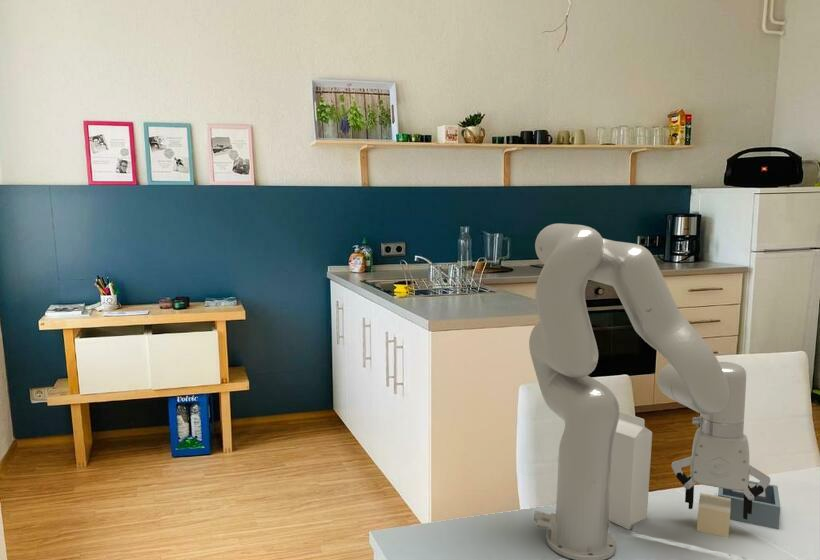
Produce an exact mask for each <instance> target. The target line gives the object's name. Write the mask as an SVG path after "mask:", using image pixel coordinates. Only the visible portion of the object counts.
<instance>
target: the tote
mask: <svg viewBox="0 0 820 560" xmlns="http://www.w3.org/2000/svg"><path fill="white" fill-rule="evenodd" d="M759 482H760V481H758V482H757V481H753V480H749V483H753V484H758V483H759ZM778 486H779V485H774V484H771V483H769V485H768V486H767V487H766V488H765V495H766V499H765V503H764V502H759V501H754V500H752V514H748V516H747V520H746V519H744V518H743V504H744V499H743V498H738V497H733V496H731V492H732V490H731V489H725V488H719V487H718V489H717V490H718V491H717V492H718V493H717V496H719V497H724V498H729V499H731V510H730V521H731V520H732V521H736V522H741V523H746V524H751V525H755V526H760V527H761V526H762V527H765V528H770V529H775V530H779V529H780V520H781V519H780V518H781V517H780V516H781V502H780V494H779V489H778V488H779V487H778Z"/></svg>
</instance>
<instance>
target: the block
mask: <svg viewBox="0 0 820 560" xmlns="http://www.w3.org/2000/svg"><path fill="white" fill-rule="evenodd" d="M749 485H750V486H751V488H752V487H754V486H755V485H757V484H753V483H749ZM731 496H733V497H738V498H743V499H744V493H743V492H742V491H738V490H732V492H731ZM765 499H766V495H765V490H764V492H763V493H761V494H760V495H758V496H757V497H755V498H754V501H759V502H764V503H765Z"/></svg>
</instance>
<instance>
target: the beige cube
mask: <svg viewBox="0 0 820 560" xmlns="http://www.w3.org/2000/svg"><path fill="white" fill-rule="evenodd" d="M698 501H699V502H698V510H697V511H698V512H697V525H696V531H698V532H702V533H706V534H710V535H715V536H720V537H725V538H729V534H730V521H731V519H730V510H731V499H729V498H724V497H719V496H718V495H712V494H708V493H705V492H704V493H702V492H700V493H699V500H698Z"/></svg>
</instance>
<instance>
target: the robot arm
mask: <svg viewBox="0 0 820 560" xmlns="http://www.w3.org/2000/svg"><path fill="white" fill-rule="evenodd" d="M534 248H535V249H534V250H535V253H536V256H537V257H538V259H539V261H540V262H541V263H542V264H543V267H542V269H541V272H540V273H539V276H538V278H537V282H536V286H535V294H534V295H535V303H536V309H537V313H538V319H539V321H538V322H537V323H536V324H535V325H534V326H533V328H532V330H531V332H530V335H529V339H528V346H529V347H528V348H529V353H530V358H531V362H532V365H533V369H534V372H535V375H536V380H537V381H538V385H539V388H540V389H539V390H540V392H541V395H542V398H543V400H544V402H545V404H546V406H547V407H548V408H549V409H550V410H551V411H552V412H553V413H554V414H555V415H557V416H558V417H560V418H561V420H563V421H564V428H563V432H562V435H561V438H560V441H559V446H558V456H557V457H558V458H557V459H558V460H557V464H558V465H557V480H556V481H557V485H556V503H555V504H556V507H555V509H556V510H555V513H553V512H551V513H550V514H549V513H545V512H543V511H540V510H539V511H538V510H535V511H534V513H533V521H534V522H536V524H535V525H536V527H538V528H542V529H548V530H547V532H546V538H545V539H546V543H547V545H548V546H549V548H550V549H552V551H554V552H556V553H557V554H559V555H561V556H562V557H565V558H568V559H571V560H607V559H609V558H611V557H612V556H613V555H614V554H615V553H616V551H617V550H616V548H617V542H616V540H615V538H614V537H613V536H612V535H611V533H609V520H608V519H609V502H610V484H611V464H612V450H613V442H614V437H615V433H616V429H617V425H618V421H619V414H620V412H621V411H620V405H619V401H618V399H617V397H616V396H615V394H614V393H613V391H612V390H611V389H609V388H608V386H607V385H605V384H603V383H602V382H600V381H598V380H597V379H595V378H593V377H591V376H590V374H592V372H594V371H595V370H596V367H597V364H598V360H599V349H598V345H597V341H596V337H595V334H594V331H593V330H594V329H593V327H592V322H591V319H590V315H589V312H588V307H587V302H586V287H587V285H588V281H591V282H597V283H600V284H603V285H607V286H611V287H613V289H614V291H615V292H616V295H617V297H618V298H619V300H620V302H621V304H622V306H623V308H624V311H625V312H626V314H627V317H628V320H629V321H630V323H631V325H632V327H633V329H634V331H635V332H636V333H637V335H638V336H639V337H641V339H643V341H644V342H645V343H647V344H648V345H649V346H650V347H651V348H652V349H654V350H655V351H657V352H658V353H659V354H660V355H661V356H662V357H663V358H665V359H666V360H667V362H668V364H666V365H664V366H663V367H662V368H661V369H660V371H659V372H658V374H657V378H656V381H657V387H658V388H659V390H660V391H661V393H663V394H664V395H665V396H666V397H668V398H669V399H670V400H673V401H675V402H676V403H678V404H680V405H683V406H685V407H687V408H688V409H691V410H693V411H695V412H696V413H699V414H700V415H699V416H697V417H694V416H693V417H692V419H691V420H692V421H691V423H692V425H696V426H698V428H697V429H696V431H695V433H694V437H693V442H692V447H691V455H690V456H688V457H684V458H681V459H678V460H677V459H676V460H675V461H672V462H671V469H672V471H673V473H674V474H675V476H676V479H677V480H678V481H679V482H680V483H681V484H682V486H683V487H684V490H685V497H684V499H685V500H684V502H685V503H687V504H688V510H693V507H694V500H695V499H694V497H695V496H694V495H695V485H696V484H698V485H701V486H702V485H703V486H707V487H712V488H713V487H714V488H718V489H719V488H725V489H731V490H738V491H742V492H743V493H744V504H743V518H744V519H746V520H747V516H748V514H752V500H754V498H755V497H757V496H758V495H760V494H761V493H763V492H764V490H765V488H766V487H767V486H768V485H769V484H771V477H770V476H769V475H767V474H765V473H763V472H762V471H760V470H759V469H757V468H756V467H754V466H753V465H751V464H750V446H749V440H748V436H747V435H746V434H744V430H745V429H744V428H745V427H744V426H745V425H744V423H745V409H746V407H745V406H746V391H747V389H746V386H747V372H746V369H745V368H744V367H743V365H740V364H737V363H734V362H728V361H719V360H718V358H717V356H716V355H715V353H714V351H713V350H712V349H711V347H710V346H709V345H708V343H707V342H706V341H705V339H703V337H702V336H701V335H700V334H699V333H698V332H697V331H696V329H695V328H694V327H693V325H692V324H691V323H690V321H688V319H686V318H685V317H684V315H683V314H682V313H681V311H680V310H679V308H678V305H677V304H676V301H675V299H674V297H673V294H672V293H671V291H670V288H669V286H668V285H667V282H666V279H665V278H664V276H663V274H662V272H661V269H660V267H659V265H658V263H657V260H656V259H655V258H654V255H653V254H652V253H651V251H650V250H649V249H648V248H646V247H645V246H644V245H640V244H637V243H632V242H625V241H618V240H617V241H616V240H612V239H607V238H604V237H602V235H601V234H600V232H598V231H597V230H596V229H595V228H592V226H591V227H590V226H587V225H583V224H575V223H574V224H572V223H571V224H570V223H562V222H561V223H552V224H549V225H547V226H545V227H544V228H543V229H542V230H540V231H539V233H538V234H537V236H536V239H535V243H534ZM688 466H689V467H690V475H689V476H687V475H686V474H685V473H684V472H683V470H682V468H686V467H688ZM750 476H752V477H754V478H755V479H757V480H758V482H759V483H758V484H757V485H755V486H754V487H752V488H751V486H750V485H749V481H750Z"/></svg>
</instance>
